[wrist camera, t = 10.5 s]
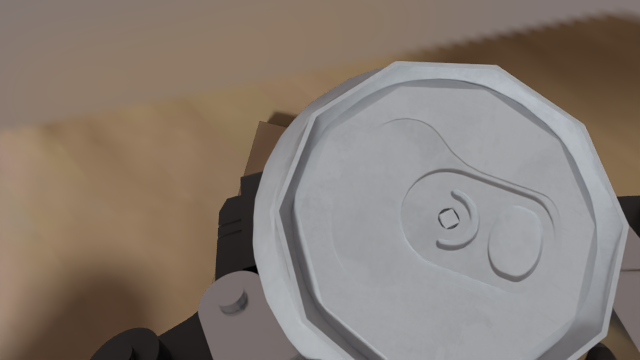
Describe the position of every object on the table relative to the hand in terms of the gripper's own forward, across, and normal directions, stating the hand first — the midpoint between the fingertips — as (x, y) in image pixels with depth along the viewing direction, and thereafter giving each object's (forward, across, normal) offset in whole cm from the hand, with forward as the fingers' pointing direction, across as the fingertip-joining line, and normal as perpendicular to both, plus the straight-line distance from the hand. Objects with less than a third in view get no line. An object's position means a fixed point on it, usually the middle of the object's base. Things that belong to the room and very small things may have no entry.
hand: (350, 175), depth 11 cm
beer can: (+3, 0, +6) cm, 6 cm away
